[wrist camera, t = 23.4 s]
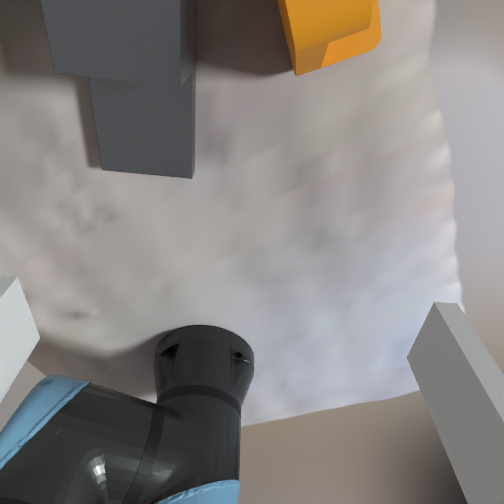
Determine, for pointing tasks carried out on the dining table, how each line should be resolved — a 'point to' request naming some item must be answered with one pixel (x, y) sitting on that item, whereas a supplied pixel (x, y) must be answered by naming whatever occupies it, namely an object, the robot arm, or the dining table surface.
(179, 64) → the block
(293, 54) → the bracket
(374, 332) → the dining table surface
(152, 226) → the dining table surface
